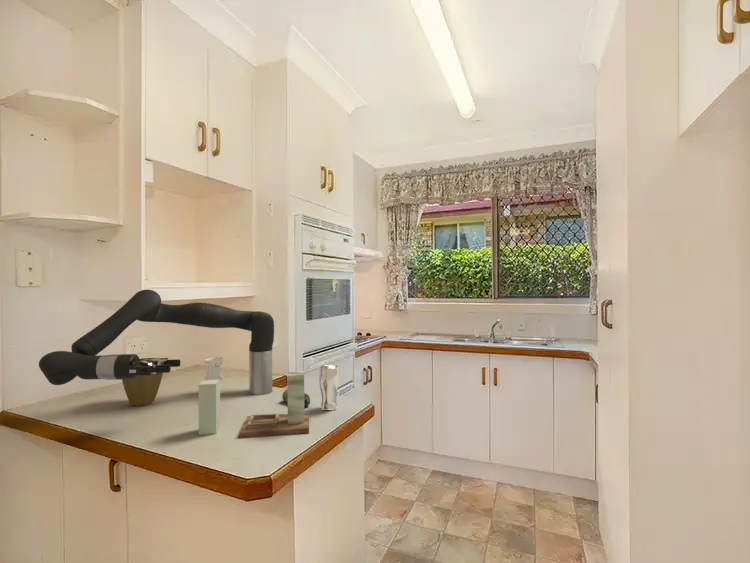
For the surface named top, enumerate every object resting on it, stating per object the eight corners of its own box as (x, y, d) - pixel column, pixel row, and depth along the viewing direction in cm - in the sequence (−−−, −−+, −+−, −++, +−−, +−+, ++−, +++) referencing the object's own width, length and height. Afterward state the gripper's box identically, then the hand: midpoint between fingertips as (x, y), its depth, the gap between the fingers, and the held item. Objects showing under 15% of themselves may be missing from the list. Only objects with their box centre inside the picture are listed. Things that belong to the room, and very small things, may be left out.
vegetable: (279, 402, 146) (279, 389, 146) (290, 399, 150) (290, 386, 150) (302, 410, 137) (302, 396, 137) (314, 406, 141) (314, 393, 141)
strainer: (218, 395, 155) (218, 358, 155) (201, 395, 155) (201, 358, 155) (225, 390, 162) (225, 354, 162) (209, 390, 162) (209, 354, 162)
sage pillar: (203, 428, 120) (203, 380, 120) (220, 427, 121) (220, 379, 121) (198, 434, 115) (198, 384, 115) (216, 433, 116) (216, 383, 116)
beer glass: (320, 412, 134) (320, 369, 134) (318, 406, 141) (318, 365, 141) (340, 410, 136) (340, 368, 136) (337, 404, 143) (336, 364, 143)
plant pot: (127, 412, 135) (127, 367, 135) (113, 404, 144) (113, 361, 144) (171, 402, 146) (171, 360, 146) (156, 395, 156) (156, 355, 156)
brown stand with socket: (247, 420, 126) (247, 370, 126) (309, 417, 129) (309, 368, 129) (239, 437, 112) (239, 381, 112) (308, 433, 116) (308, 378, 116)
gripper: (106, 358, 110) (166, 357, 113) (129, 350, 124) (183, 349, 127) (105, 385, 110) (166, 383, 112) (129, 373, 124) (182, 372, 126)
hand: (175, 365), depth 119 cm, fingers open, 8 cm apart
